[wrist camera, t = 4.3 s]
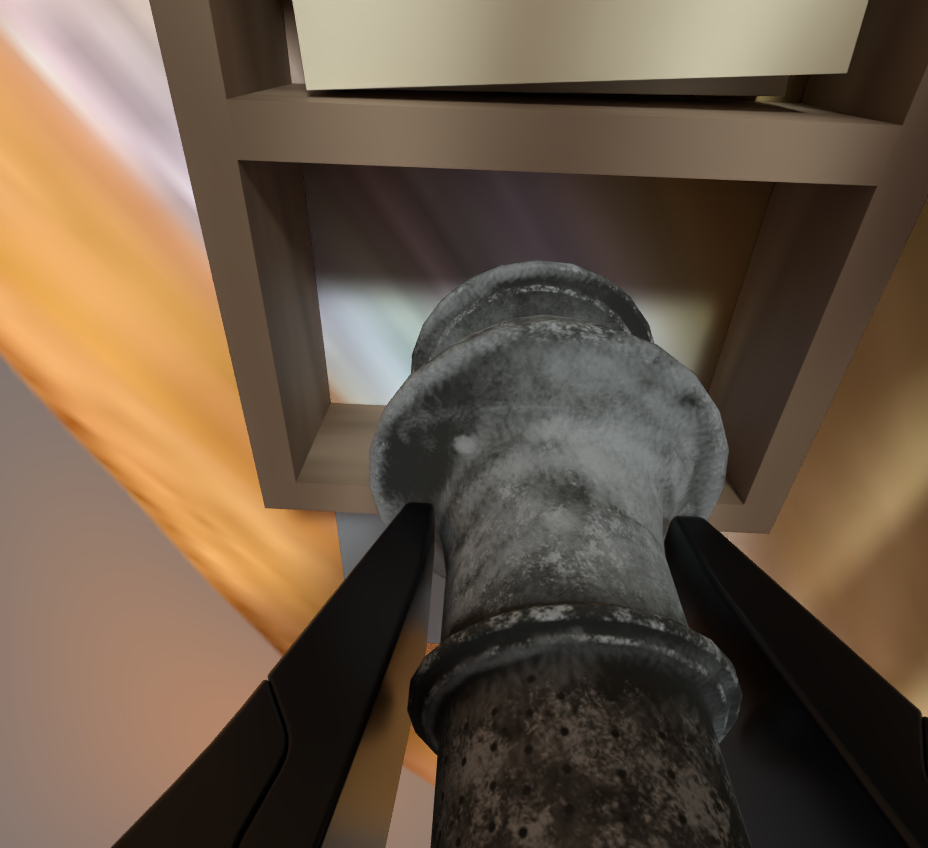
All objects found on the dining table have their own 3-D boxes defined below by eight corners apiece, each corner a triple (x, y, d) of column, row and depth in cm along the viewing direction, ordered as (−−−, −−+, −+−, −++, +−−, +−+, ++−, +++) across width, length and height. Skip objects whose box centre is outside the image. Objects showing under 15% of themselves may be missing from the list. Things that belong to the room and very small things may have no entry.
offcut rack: (985, -291, 10) (1232, -453, 7) (721, 446, 19) (768, 533, 16) (187, -311, 10) (39, -478, 7) (304, 426, 19) (265, 507, 16)
